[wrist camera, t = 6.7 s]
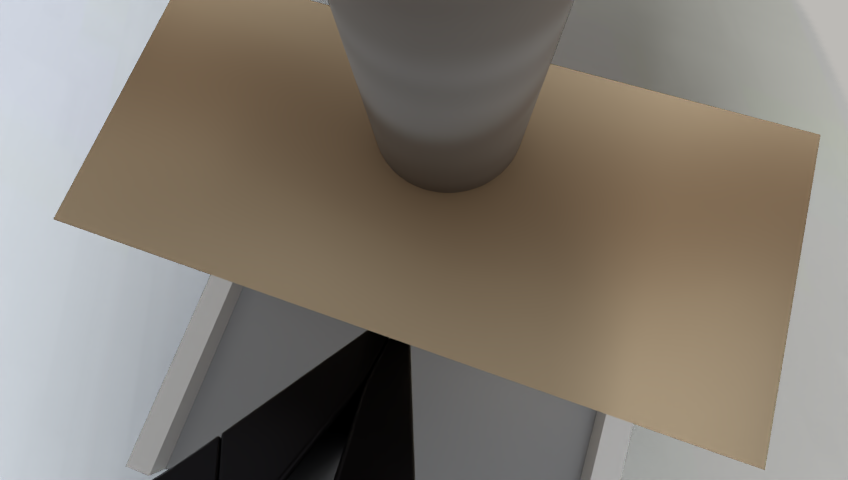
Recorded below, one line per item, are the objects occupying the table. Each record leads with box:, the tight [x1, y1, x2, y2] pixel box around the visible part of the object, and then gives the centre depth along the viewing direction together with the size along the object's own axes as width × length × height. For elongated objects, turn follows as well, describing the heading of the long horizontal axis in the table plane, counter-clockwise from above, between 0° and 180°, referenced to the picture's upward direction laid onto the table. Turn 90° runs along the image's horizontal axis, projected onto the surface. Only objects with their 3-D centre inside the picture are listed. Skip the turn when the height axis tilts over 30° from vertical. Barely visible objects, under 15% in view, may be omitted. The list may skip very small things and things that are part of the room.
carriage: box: [54, 0, 820, 470], centre depth 9 cm, size 5×11×12 cm, turn 71°
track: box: [126, 275, 634, 480], centre depth 13 cm, size 13×14×4 cm
